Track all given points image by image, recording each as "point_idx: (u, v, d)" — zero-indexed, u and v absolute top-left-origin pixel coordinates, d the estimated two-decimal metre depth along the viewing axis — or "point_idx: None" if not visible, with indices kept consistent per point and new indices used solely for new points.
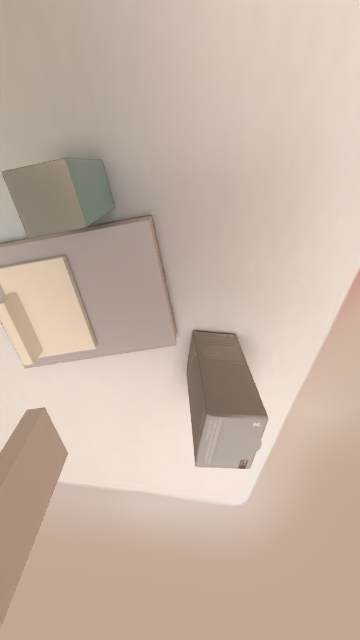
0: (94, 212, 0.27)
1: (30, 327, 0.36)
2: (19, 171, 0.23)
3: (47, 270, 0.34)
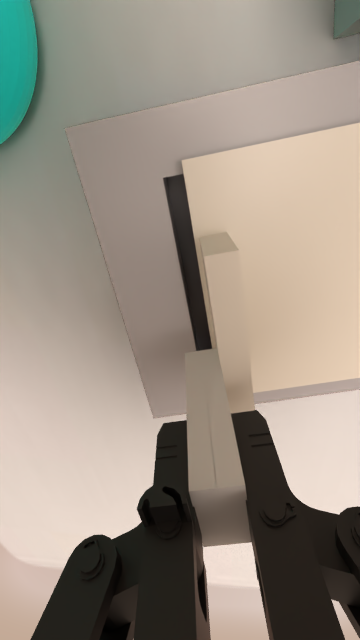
0: None
1: None
2: None
3: (336, 162, 0.12)
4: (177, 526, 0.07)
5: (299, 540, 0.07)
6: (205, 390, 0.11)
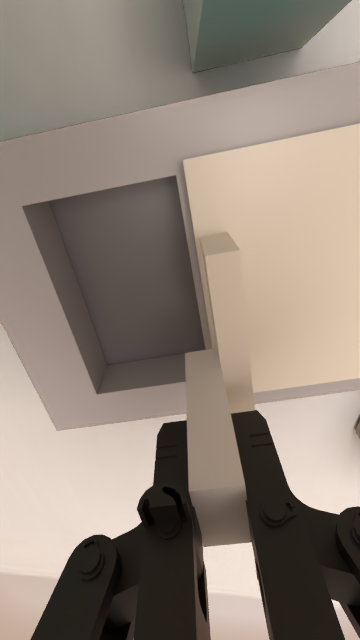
0: None
1: None
2: None
3: (337, 163, 0.12)
4: (177, 526, 0.07)
5: (299, 540, 0.07)
6: (205, 390, 0.11)
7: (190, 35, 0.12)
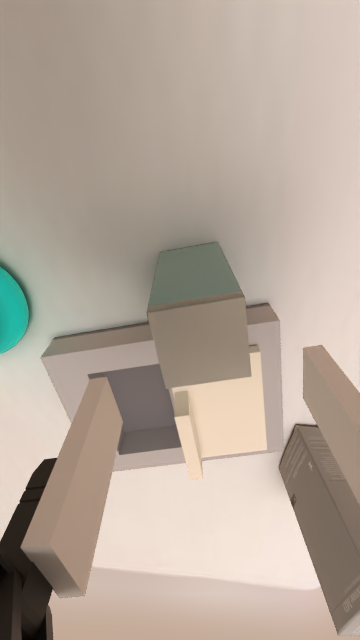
0: None
1: (195, 429, 0.29)
2: (173, 313, 0.15)
3: None
4: None
5: None
6: (333, 391, 0.10)
7: None
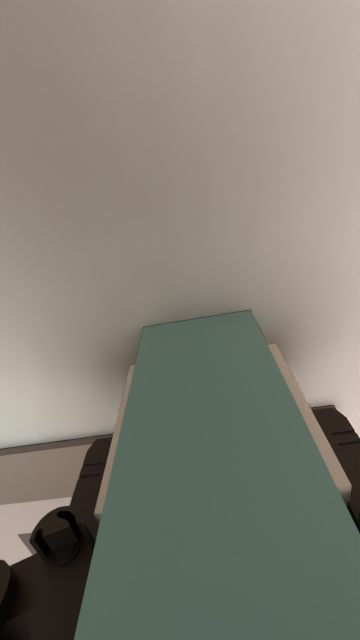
0: None
1: None
2: None
3: None
4: (75, 548, 0.07)
5: None
6: None
7: None
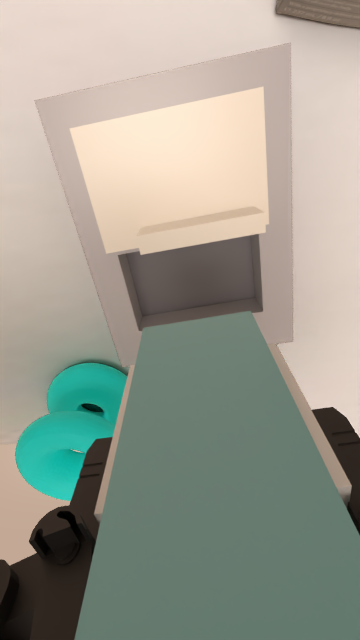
0: None
1: (202, 216, 0.21)
2: None
3: (97, 163, 0.20)
4: (75, 548, 0.07)
5: None
6: None
7: None
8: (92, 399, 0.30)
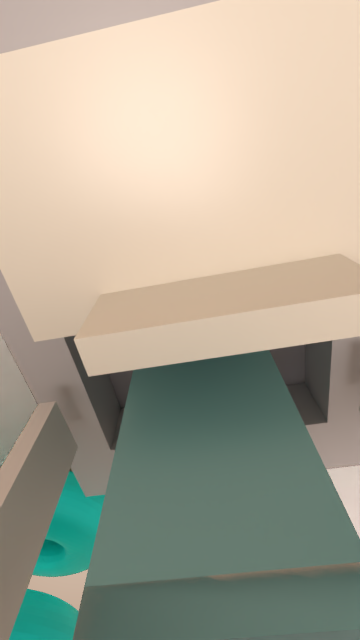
0: None
1: (228, 277, 0.10)
2: None
3: None
4: None
5: None
6: None
7: None
8: None
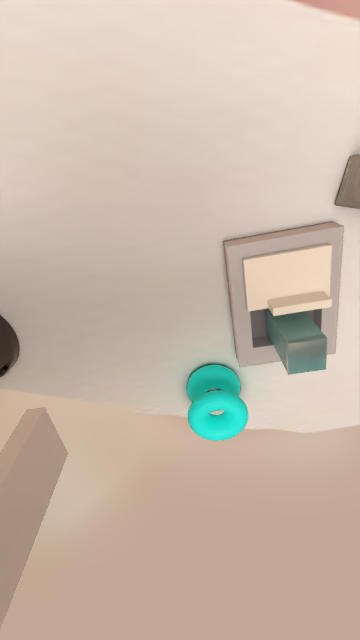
0: None
1: (298, 296, 0.44)
2: (298, 343, 0.39)
3: (253, 273, 0.43)
4: None
5: None
6: None
7: (268, 331, 0.50)
8: (219, 385, 0.54)
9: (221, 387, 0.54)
